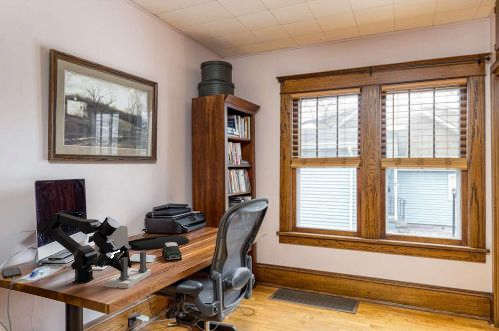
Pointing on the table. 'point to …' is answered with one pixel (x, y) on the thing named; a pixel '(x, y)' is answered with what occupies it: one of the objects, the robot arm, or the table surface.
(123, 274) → the lever
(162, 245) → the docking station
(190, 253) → the table surface
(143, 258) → the on breaker
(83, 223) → the robot arm
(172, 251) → the miniature car
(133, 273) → the breaker panel
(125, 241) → the electrical switch box
